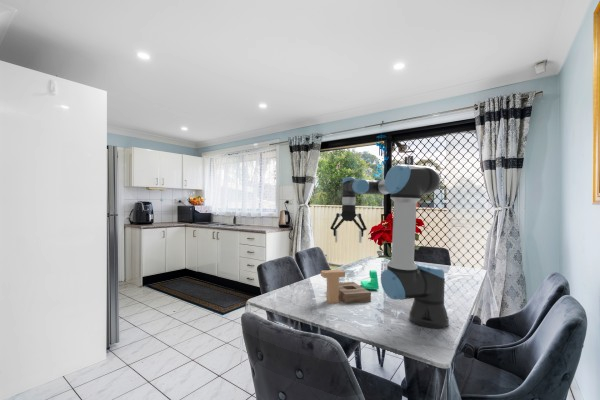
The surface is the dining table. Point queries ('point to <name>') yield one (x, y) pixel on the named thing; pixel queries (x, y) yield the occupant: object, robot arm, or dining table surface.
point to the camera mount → (373, 283)
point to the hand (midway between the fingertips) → (348, 242)
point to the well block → (353, 293)
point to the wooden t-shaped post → (332, 284)
